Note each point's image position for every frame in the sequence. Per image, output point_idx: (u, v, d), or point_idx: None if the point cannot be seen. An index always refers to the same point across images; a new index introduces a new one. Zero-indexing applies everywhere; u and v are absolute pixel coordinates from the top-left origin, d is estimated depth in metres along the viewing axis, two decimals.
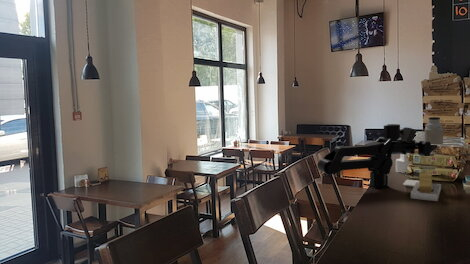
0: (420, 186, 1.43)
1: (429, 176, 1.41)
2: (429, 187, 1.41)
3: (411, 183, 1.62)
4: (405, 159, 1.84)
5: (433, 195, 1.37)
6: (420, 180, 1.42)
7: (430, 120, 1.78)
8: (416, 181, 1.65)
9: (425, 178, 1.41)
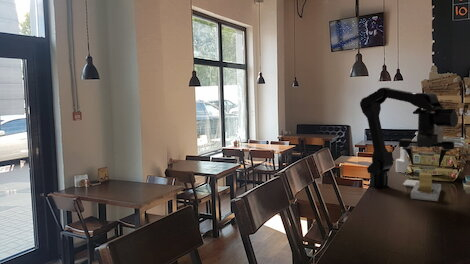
0: (420, 186, 1.43)
1: (429, 176, 1.41)
2: (429, 187, 1.41)
3: (411, 183, 1.62)
4: (405, 159, 1.84)
5: (433, 195, 1.37)
6: (420, 180, 1.42)
7: None
8: (416, 181, 1.65)
9: (425, 178, 1.41)
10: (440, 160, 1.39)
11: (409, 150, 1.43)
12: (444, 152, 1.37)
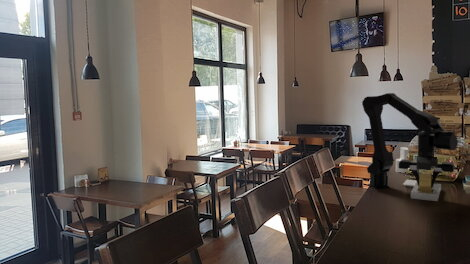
0: (420, 186, 1.43)
1: (429, 176, 1.41)
2: (429, 187, 1.41)
3: (411, 183, 1.62)
4: (405, 159, 1.84)
5: (433, 195, 1.37)
6: (420, 180, 1.42)
7: None
8: (416, 181, 1.65)
9: (425, 178, 1.41)
10: (432, 181, 1.41)
11: (416, 172, 1.43)
12: (436, 174, 1.39)
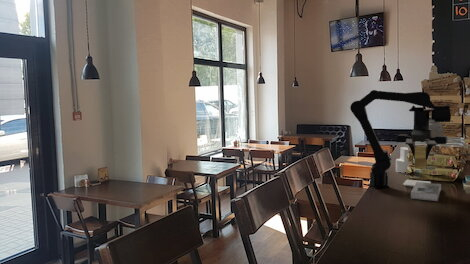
0: (415, 158, 1.53)
1: (424, 148, 1.51)
2: (424, 159, 1.51)
3: (411, 183, 1.62)
4: (405, 159, 1.84)
5: (433, 195, 1.37)
6: (415, 152, 1.53)
7: (430, 120, 1.78)
8: (416, 181, 1.65)
9: (420, 151, 1.52)
10: (427, 153, 1.51)
11: (411, 145, 1.53)
12: (430, 146, 1.49)
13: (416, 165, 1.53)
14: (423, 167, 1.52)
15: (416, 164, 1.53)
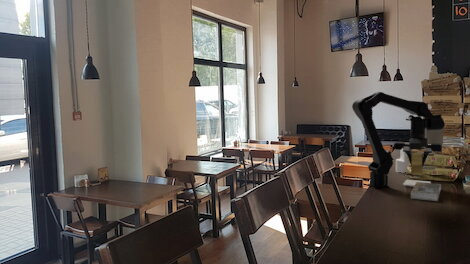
0: (412, 165, 1.61)
1: (420, 156, 1.59)
2: (420, 165, 1.59)
3: (411, 183, 1.62)
4: (405, 159, 1.84)
5: (433, 195, 1.37)
6: (412, 159, 1.61)
7: None
8: (416, 181, 1.65)
9: (417, 158, 1.60)
10: (423, 160, 1.59)
11: (408, 152, 1.61)
12: (426, 153, 1.57)
13: (413, 171, 1.61)
14: (420, 173, 1.60)
15: (413, 170, 1.61)
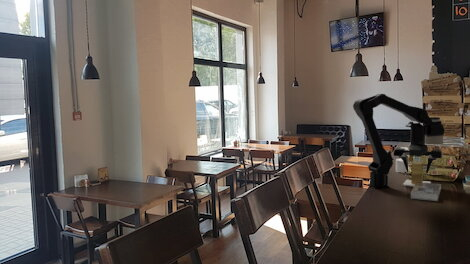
0: (412, 174, 1.61)
1: (420, 165, 1.59)
2: (420, 174, 1.59)
3: (411, 183, 1.62)
4: None
5: (433, 195, 1.37)
6: (412, 168, 1.61)
7: None
8: None
9: (416, 167, 1.60)
10: (428, 167, 1.58)
11: (404, 158, 1.62)
12: (431, 160, 1.56)
13: (413, 180, 1.61)
14: None
15: (413, 179, 1.61)
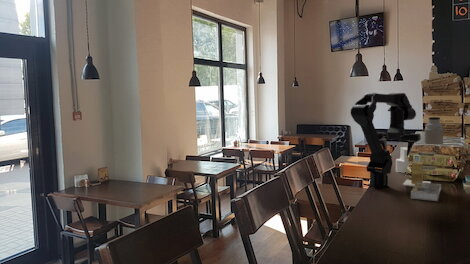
0: (412, 174, 1.61)
1: (420, 165, 1.59)
2: (420, 174, 1.59)
3: (411, 183, 1.62)
4: (405, 159, 1.84)
5: (433, 195, 1.37)
6: (412, 168, 1.61)
7: (430, 120, 1.78)
8: None
9: (416, 167, 1.60)
10: (408, 150, 1.63)
11: (382, 141, 1.68)
12: (411, 143, 1.61)
13: (413, 180, 1.61)
14: None
15: (413, 179, 1.61)
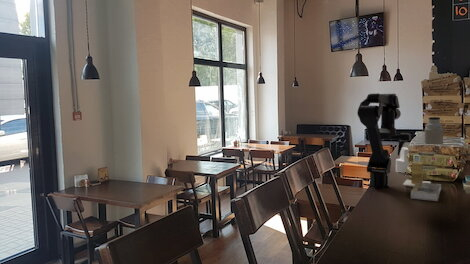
0: (412, 174, 1.61)
1: (420, 165, 1.59)
2: (420, 174, 1.59)
3: (411, 183, 1.62)
4: (405, 159, 1.84)
5: (433, 195, 1.37)
6: (412, 168, 1.61)
7: (430, 120, 1.78)
8: None
9: (416, 167, 1.60)
10: (399, 150, 1.66)
11: None
12: (401, 143, 1.64)
13: (413, 180, 1.61)
14: None
15: (413, 179, 1.61)
